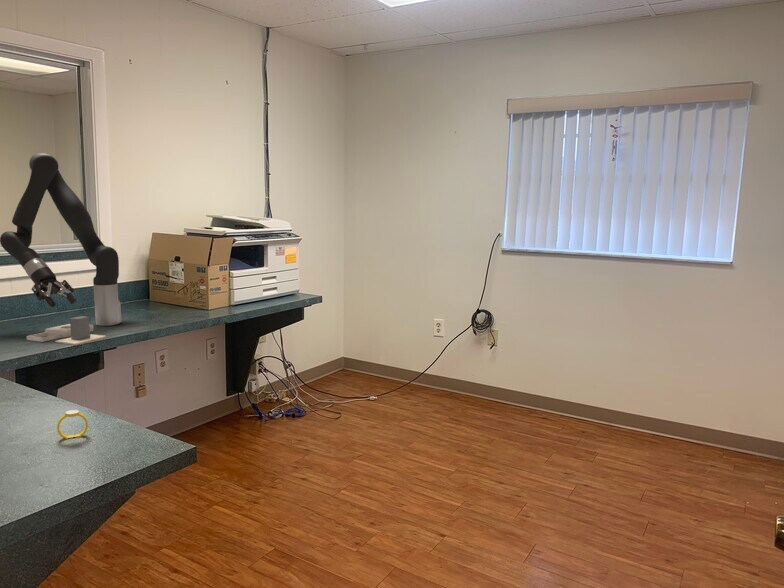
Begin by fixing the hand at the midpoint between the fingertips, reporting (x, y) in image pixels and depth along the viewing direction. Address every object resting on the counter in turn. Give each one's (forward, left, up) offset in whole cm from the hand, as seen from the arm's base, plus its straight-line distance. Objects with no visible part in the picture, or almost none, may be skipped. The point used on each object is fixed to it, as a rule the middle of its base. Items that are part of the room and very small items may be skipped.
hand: (64, 304), depth 227 cm
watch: (+71, +85, -13) cm, 111 cm away
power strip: (-3, -6, -13) cm, 15 cm away
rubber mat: (0, +8, -13) cm, 15 cm away
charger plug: (0, +7, -12) cm, 15 cm away
